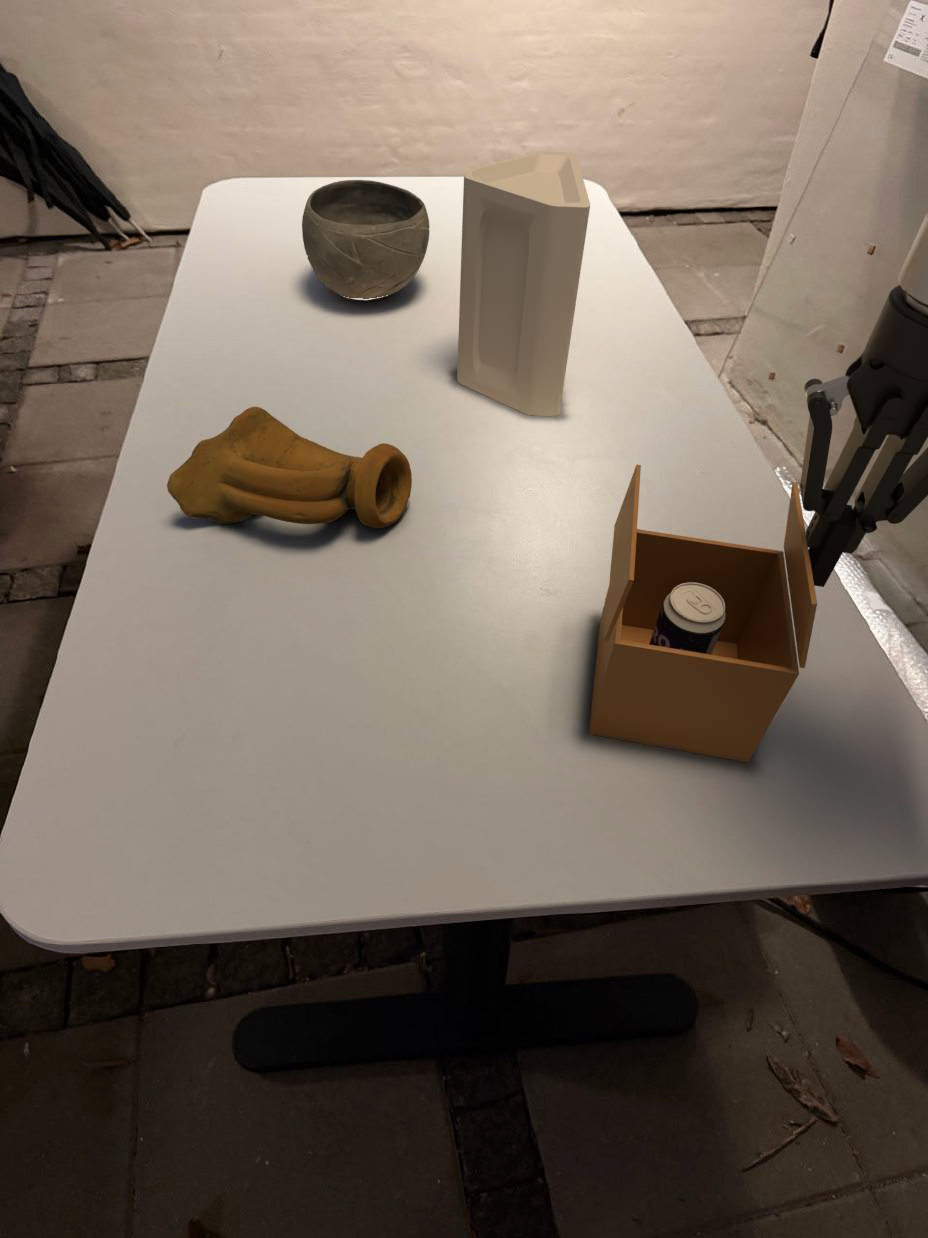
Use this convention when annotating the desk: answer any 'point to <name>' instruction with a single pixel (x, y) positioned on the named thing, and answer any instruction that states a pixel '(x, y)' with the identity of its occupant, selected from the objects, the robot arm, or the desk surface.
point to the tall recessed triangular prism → (520, 277)
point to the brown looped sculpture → (288, 477)
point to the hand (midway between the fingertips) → (812, 574)
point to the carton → (683, 680)
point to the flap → (799, 576)
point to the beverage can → (690, 619)
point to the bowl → (365, 237)
